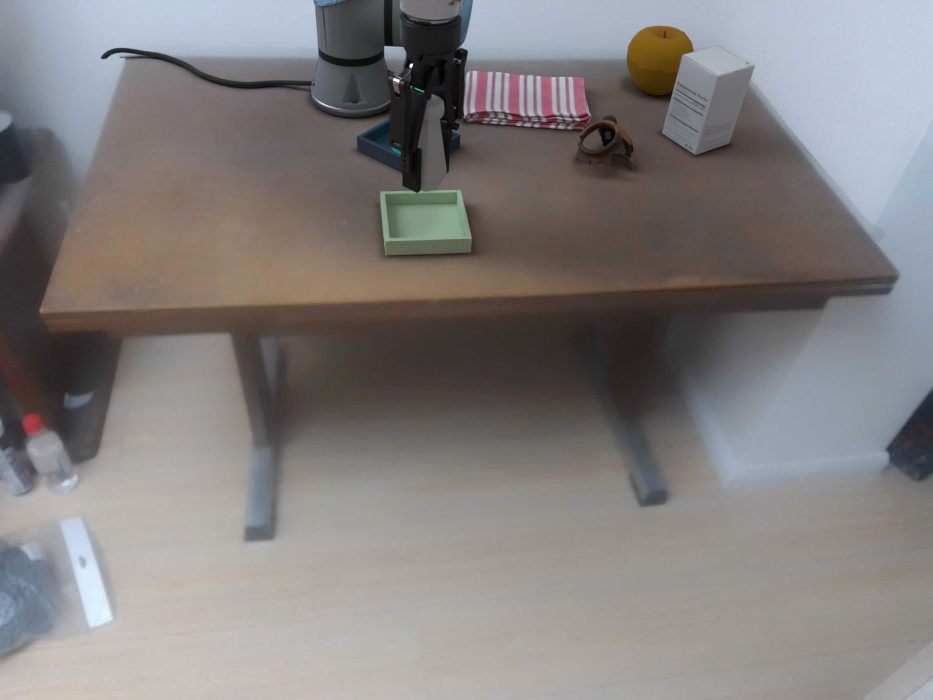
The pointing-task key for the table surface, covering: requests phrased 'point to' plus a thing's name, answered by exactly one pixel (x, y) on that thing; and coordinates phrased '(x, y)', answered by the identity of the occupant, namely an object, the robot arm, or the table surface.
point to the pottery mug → (606, 142)
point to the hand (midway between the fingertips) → (425, 178)
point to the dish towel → (525, 100)
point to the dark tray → (378, 145)
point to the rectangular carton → (707, 99)
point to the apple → (657, 58)
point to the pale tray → (424, 222)
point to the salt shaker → (432, 146)
